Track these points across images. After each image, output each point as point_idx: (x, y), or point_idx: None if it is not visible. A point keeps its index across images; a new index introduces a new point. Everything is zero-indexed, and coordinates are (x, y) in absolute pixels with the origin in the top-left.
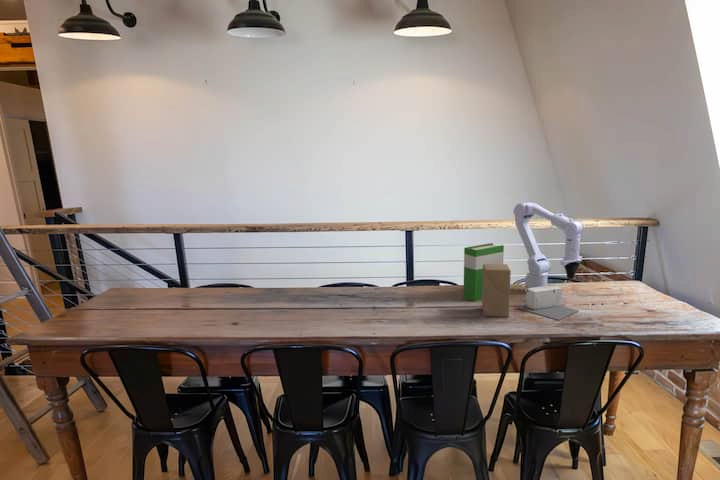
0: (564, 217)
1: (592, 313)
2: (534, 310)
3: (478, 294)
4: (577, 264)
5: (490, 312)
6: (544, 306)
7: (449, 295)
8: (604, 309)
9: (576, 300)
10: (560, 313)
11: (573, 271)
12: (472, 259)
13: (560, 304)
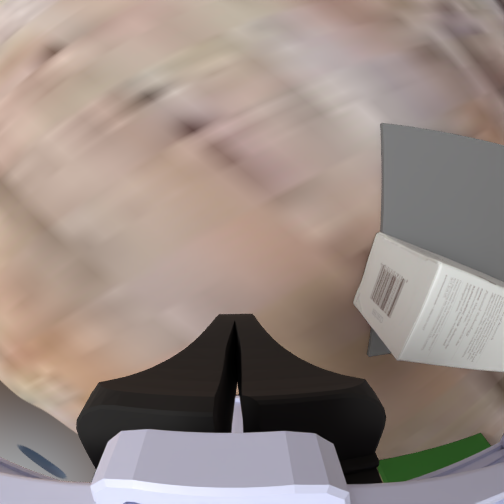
0: None
1: (352, 60)
2: (497, 276)
3: (480, 449)
4: (217, 411)
5: None
6: (469, 267)
7: None
8: (232, 43)
9: (197, 234)
10: (475, 175)
11: (277, 351)
12: None
13: (389, 236)
